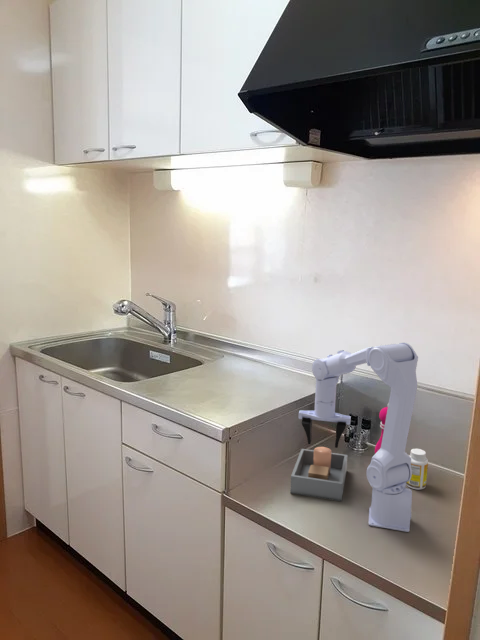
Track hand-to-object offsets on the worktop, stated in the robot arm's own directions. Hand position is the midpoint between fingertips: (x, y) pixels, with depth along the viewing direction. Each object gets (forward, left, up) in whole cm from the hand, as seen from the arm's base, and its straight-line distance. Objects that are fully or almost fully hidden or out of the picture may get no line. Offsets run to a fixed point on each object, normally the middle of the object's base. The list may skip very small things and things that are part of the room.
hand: (323, 444), depth 144 cm
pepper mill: (-18, -12, -10) cm, 24 cm away
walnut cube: (0, +8, -9) cm, 12 cm away
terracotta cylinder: (0, 0, -9) cm, 9 cm away
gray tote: (0, +4, -9) cm, 10 cm away
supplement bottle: (-26, -2, -10) cm, 28 cm away
